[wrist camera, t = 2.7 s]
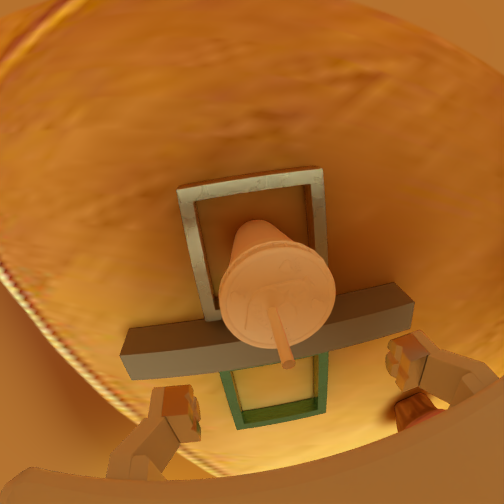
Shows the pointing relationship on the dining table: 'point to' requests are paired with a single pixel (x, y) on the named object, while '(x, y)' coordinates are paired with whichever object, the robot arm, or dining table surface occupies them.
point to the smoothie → (274, 290)
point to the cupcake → (414, 411)
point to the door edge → (244, 355)
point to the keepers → (210, 304)
